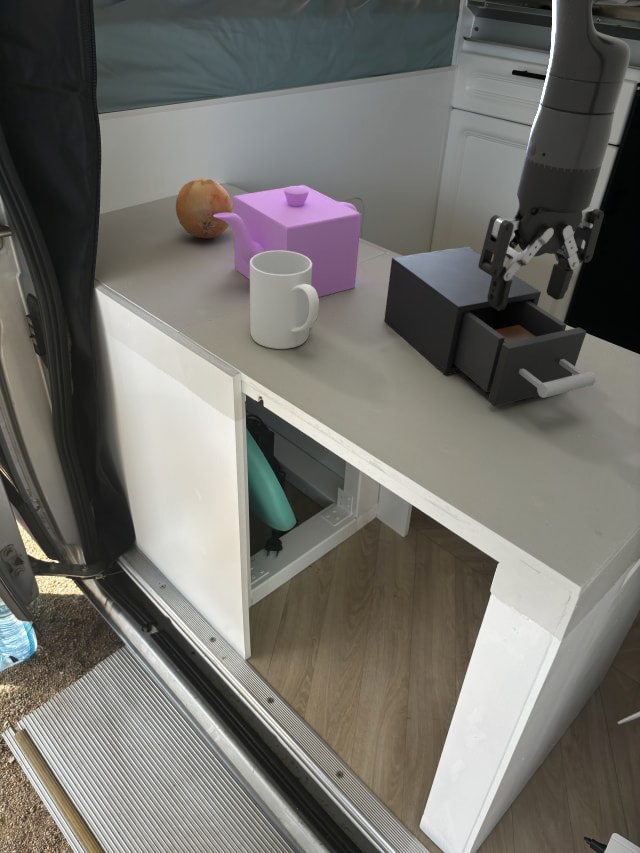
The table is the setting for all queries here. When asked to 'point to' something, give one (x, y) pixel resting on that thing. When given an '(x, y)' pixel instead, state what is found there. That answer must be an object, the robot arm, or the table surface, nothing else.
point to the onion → (203, 207)
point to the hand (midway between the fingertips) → (526, 302)
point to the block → (514, 333)
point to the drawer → (519, 353)
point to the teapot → (298, 233)
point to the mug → (281, 299)
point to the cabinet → (440, 299)
